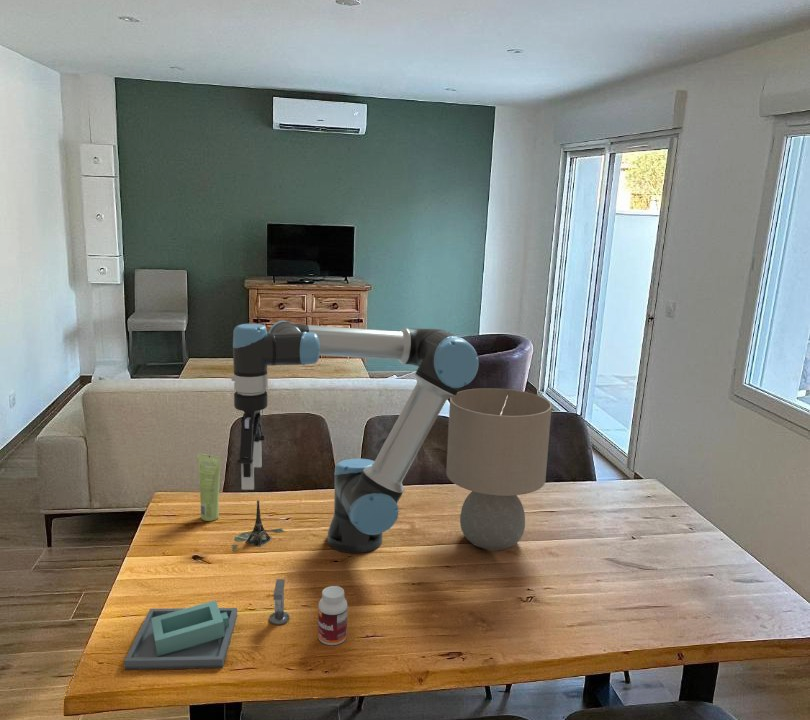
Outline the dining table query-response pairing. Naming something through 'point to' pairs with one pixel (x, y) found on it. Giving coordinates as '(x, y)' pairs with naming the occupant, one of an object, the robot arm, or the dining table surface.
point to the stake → (279, 604)
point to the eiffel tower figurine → (255, 533)
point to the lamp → (497, 460)
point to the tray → (187, 658)
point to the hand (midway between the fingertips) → (252, 477)
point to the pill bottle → (332, 616)
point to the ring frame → (188, 627)
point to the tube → (209, 486)
